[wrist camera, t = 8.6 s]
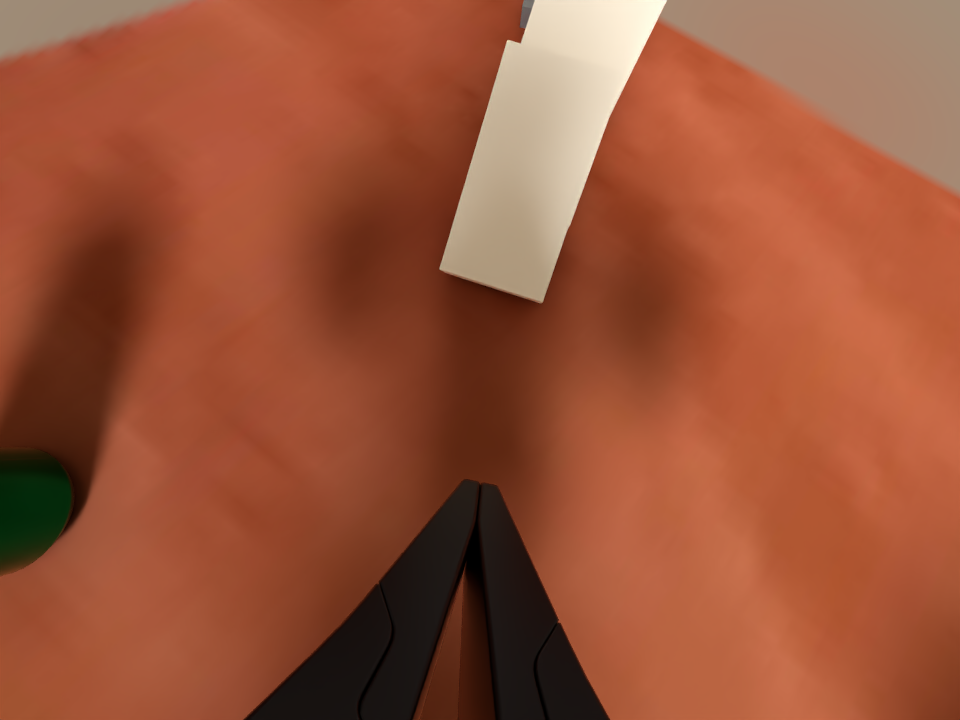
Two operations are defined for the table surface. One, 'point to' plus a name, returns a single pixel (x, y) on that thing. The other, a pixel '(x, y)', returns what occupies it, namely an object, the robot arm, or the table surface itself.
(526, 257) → the domino
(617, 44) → the domino
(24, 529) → the soda can
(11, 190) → the table surface
